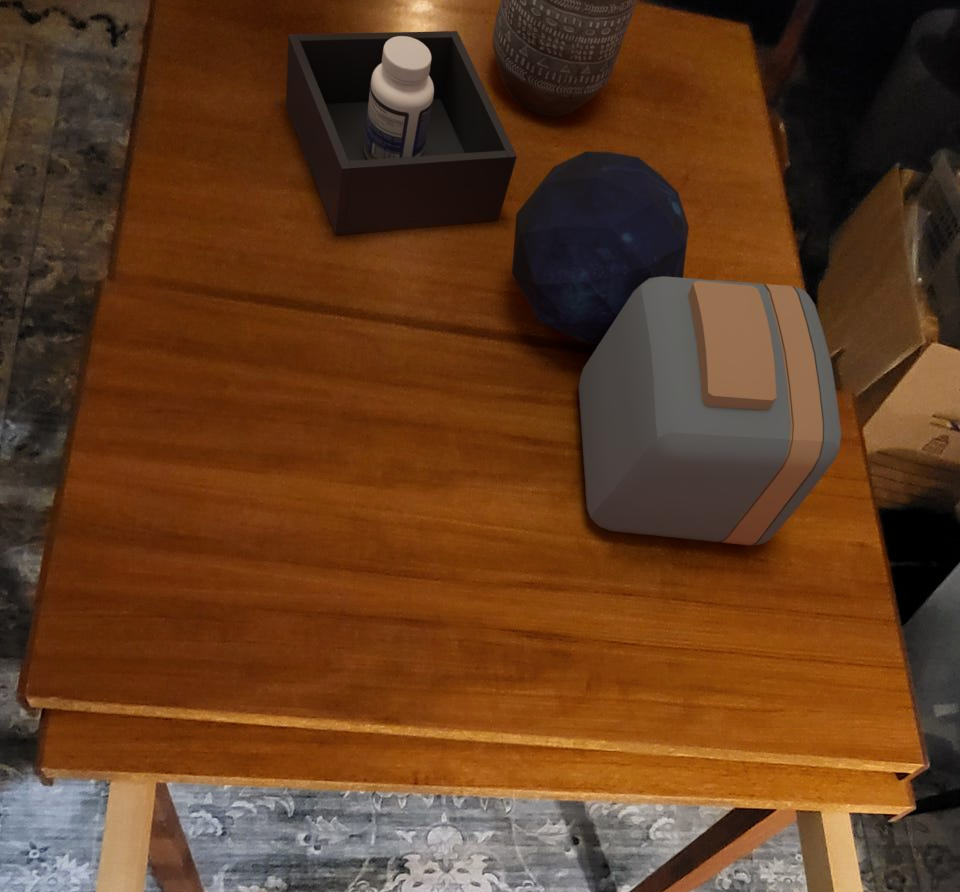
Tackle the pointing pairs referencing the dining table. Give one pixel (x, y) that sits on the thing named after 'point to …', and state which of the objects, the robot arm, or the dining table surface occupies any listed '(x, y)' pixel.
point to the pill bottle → (399, 101)
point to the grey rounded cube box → (708, 411)
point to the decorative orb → (596, 240)
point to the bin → (407, 180)
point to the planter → (558, 49)
